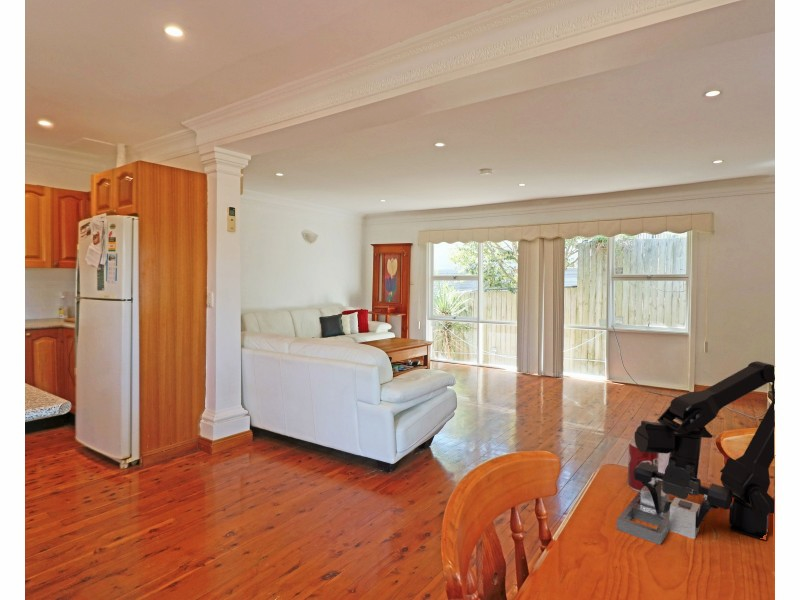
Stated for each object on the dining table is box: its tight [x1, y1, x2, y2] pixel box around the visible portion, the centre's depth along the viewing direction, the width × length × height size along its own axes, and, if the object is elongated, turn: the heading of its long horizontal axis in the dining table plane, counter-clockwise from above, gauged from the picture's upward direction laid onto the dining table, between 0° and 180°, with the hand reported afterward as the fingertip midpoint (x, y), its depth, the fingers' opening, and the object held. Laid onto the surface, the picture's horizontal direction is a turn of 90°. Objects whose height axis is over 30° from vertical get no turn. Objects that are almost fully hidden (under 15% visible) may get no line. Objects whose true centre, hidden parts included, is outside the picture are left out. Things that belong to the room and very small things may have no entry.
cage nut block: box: [669, 496, 701, 540], centre depth 105 cm, size 5×5×6 cm
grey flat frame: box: [616, 491, 674, 546], centre depth 109 cm, size 9×18×2 cm, turn 138°
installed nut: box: [640, 486, 670, 513], centre depth 112 cm, size 5×5×6 cm
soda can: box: [627, 439, 660, 493], centre depth 126 cm, size 7×7×12 cm
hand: (677, 520), depth 105 cm, fingers open, 7 cm apart
